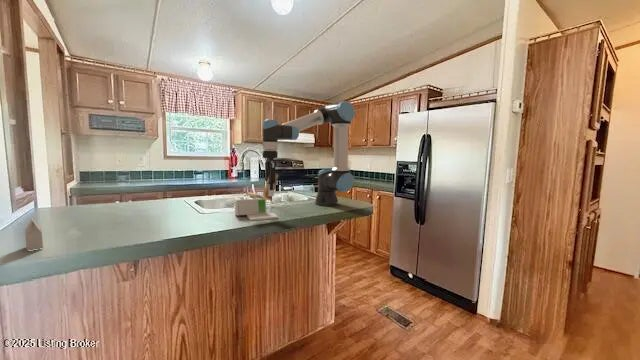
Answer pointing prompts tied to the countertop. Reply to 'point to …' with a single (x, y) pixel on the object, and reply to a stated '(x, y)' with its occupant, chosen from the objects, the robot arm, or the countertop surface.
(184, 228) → the countertop surface
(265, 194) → the wooden bracket
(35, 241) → the tea bag
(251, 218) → the mat
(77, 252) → the countertop surface
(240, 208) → the skincare box
